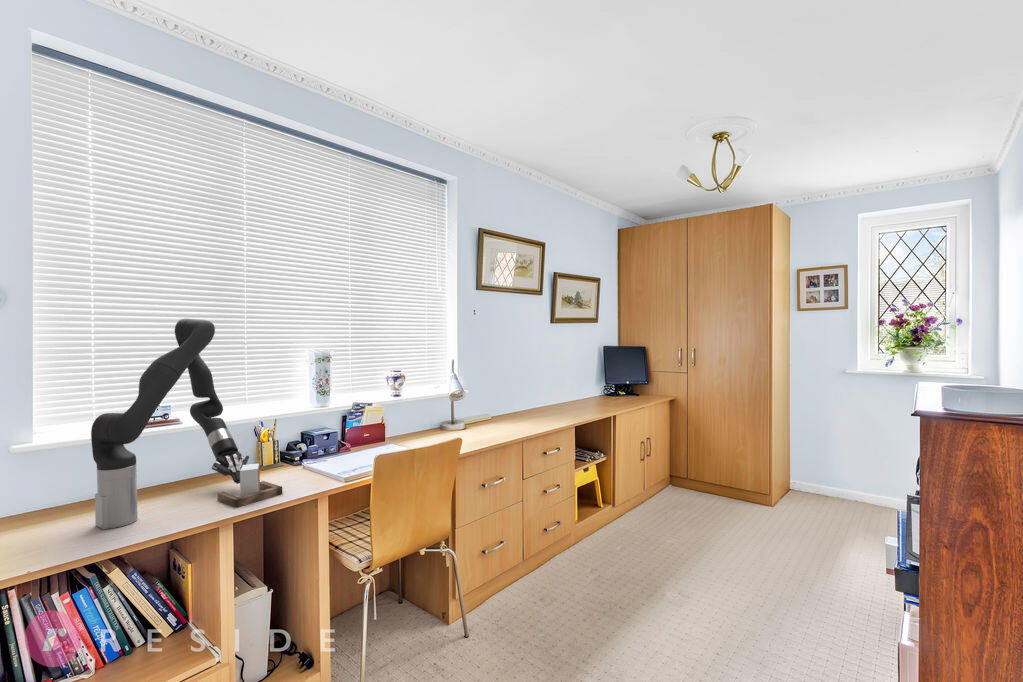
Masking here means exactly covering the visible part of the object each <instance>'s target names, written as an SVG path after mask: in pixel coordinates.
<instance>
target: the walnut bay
mask: <svg viewBox="0 0 1023 682" xmlns="http://www.w3.org/2000/svg"><path fill="white" fill-rule="evenodd" d="M282 494H283V486H282V485H281V486H280V485H278V484H275V483H271V482H269V481H266V480H262V481H261V480H260V491H259V492H255V493H252V494H248V495H245V496H241V497H240V496H237V495H235V494H232V493H228V492H225V491H221V492H217V501H219V502H220V503H223V504H226V505H229V506H231V507H233V508H236V507H237V508H239V507H243V506H246V505H249V504H250V505H251V504H253V503H256V502H260V501H263V500H266V499H269V498H272V497H277V496H279V495H282Z"/></svg>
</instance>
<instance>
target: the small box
mask: <svg viewBox="0 0 1023 682" xmlns="http://www.w3.org/2000/svg"><path fill="white" fill-rule="evenodd" d="M241 465H242V464H241ZM260 469H261V468H260V463H251V464H250V463H249V464H246V465H242V468H241V470H240V483H239V491H240V492H239V493H240V495H239V497H241V496H245V495H248V494H252V493H255V492H259V491H261V490H260V482H261V479H260V478H261V476H260V475H261V472H260Z"/></svg>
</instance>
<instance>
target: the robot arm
mask: <svg viewBox="0 0 1023 682" xmlns="http://www.w3.org/2000/svg"><path fill="white" fill-rule="evenodd" d="M215 333H216V327H215V325H214V323H213V322H211V321H210V320H207V319H202V318H201V319H198V318H180V319H179V320H178V321H177V322H176V323H175V326H174V336H175V338H176V340H175V341H176V342H177V345H178V347H175V348H174V349H173V350H172V349H171V350H170V351H168V352H166V353H164V354H163V355H160V356H159V357H158V358H156V359H155V360H153V362H151V364H150V365H149V366H148V367H147V368H146V369H145V371H144V372H143V373H142V375H141V376H140V377H139V383H138V395H137V396H136V397H137V398H136V399H135V401H134V402H133V403H132V404H131V406H130V407H129V408H128V409H127V410H126V411H124V412H105V413H102V414H100V415H99V416H97V417H96V418H95V420H94V421H93V423H92V426H91V429H90V430H91V431H90V436H91V437H90V440H91V450H92V451H91V452H92V457H93V460H94V462H95V464H96V485H97V486H96V487H97V489H96V490H97V493H95V494H94V508H95V509H94V512H95V513H94V514H95V526H96V527H98V528H100V529H101V531H102V530H106V529H113V528H115V529H116V528H120V527H125V526H127V525H130V524H132V523H135V522H137V520H138V512H139V511H138V484H137V483H138V482H137V481H138V480H137V456H136V454H135V453H133V452H131V451H130V450H128V449H127V448H126V447H125V445H129V444H131V443H133V442H135V441H136V440H137V439H138V438H139V437H140V436H141V434H142V433H143V432H144V430H145V428H146V426H147V425H148V423H149V421H150V420H151V418H152V417H153V415H154V413H155V412H156V410H157V409H158V407H159V406H160V404H161V403H162V401H163V400H164V399H165V397H166V396H167V394H168V393H169V392H170V391H171V390H172V388H173V387H174V386H175V385H176V383H177V382H178V381H179V379H180V378H181V377H182V375H183V374H184V372H186V370H187V372H188V374H189V379H190V385H191V386H190V387H191V391H192V395H193V397H195V398H201V399H202V398H208V399H206V400H203V401H199V402H195V403H193V404H192V405H191V406H190V408H189V413H190V416H191V417H192V419H193V420H194V421H195V422H196V423H197V424H198V425H199V426H200V427H201V428H202V430H203V431H204V433H205V436H206V438H207V441H208V445H209V448H211V449H210V450H211V451H212V453H213V456H214V458H215V462H213V465H212V466H211V470H214V471H215V472H217V473H219V474H221V475H223V476H225V477H228V476H230V477H231V479H232V480H233V483H235V484H236V485H240V470H241V468H242V465H248V464H247V463H248V461H249V459H250V456H249V455H245V456H244V455H242V453H241V452H240V451H239V448H238V447H237V443H236V442H235V439H234V438H233V436H232V434H231V432H230V431H229V429H228V427H227V424H226V422H225V420H224V419H223V418H221V417H219V416H221V414H222V413H223V411H224V407H223V403H222V402H221V399H219V396H218V395H217V393H216V390H215V386H214V385H215V384H214V379H213V378H214V377H213V374H212V372H211V370H210V368H209V366H208V365H207V364H206V363H205V361H204V360H203V359H202V357H201V356H200V354H201V352H202V351H203V350H204V349H206V347H207V346H208V345H210V343H211V342H212V340H213V339H214V336H215ZM240 461H241V465H240Z"/></svg>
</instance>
